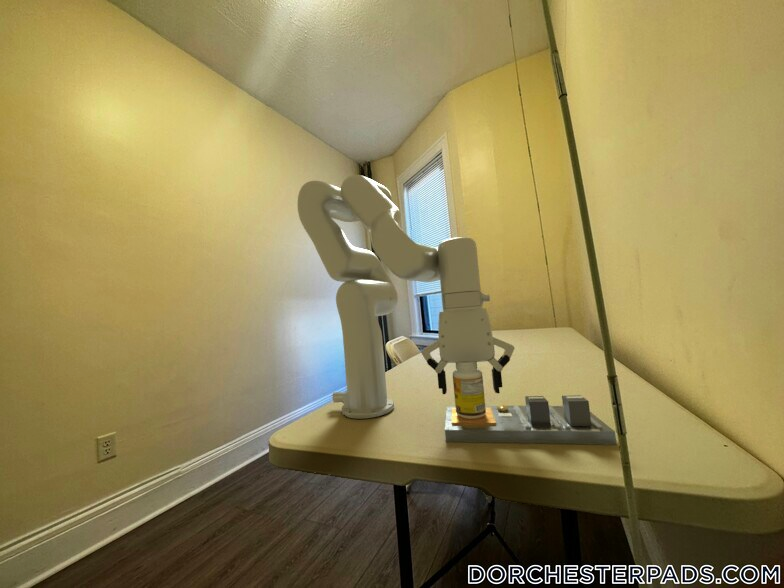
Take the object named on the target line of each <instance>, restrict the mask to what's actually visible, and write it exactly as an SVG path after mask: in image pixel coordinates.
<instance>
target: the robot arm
mask: <svg viewBox="0 0 784 588" xmlns="http://www.w3.org/2000/svg"><path fill="white" fill-rule="evenodd" d="M297 212H298V218H299V220H300V223H301V225H302V226H303V229H304V230H305V231H306V234H307V235H308V237H309V238H310V240H311V241H312V243H313V245H314V247H315V250H316V251H317V255H318V256H319V258H320V260H321V262H322V264H323V266H324V268H325V270H326V272H327V274H328V275H329V277H330V278H331V279H332V280H334V281H336V282H341V283H342V284H341V285H340V286H339V287H338V289H337V292H336V293H335V294H336V295H335V302H336V308H337V312H338V315H339V320H340V325H341V333H342V343H343V344H342V345H343V354H344V355H343V356H344V368H345V371H344V372H345V381H346V382H345V383H346V390H345V391H344V392H341V391H339V392H338V391H337V392H333V393H332V395H331V398H332V401H333V403H342V404H343V405H342V406H341V414H342V415H343V416H344V415H345V416H344V417H346V416H347V418H350V419H360V420H361V419H372V418H376V417H377V418H378V417H380V416H384V415H386V414H388V413H390V412H391V411H393V410H394V408H395V403H394V400H393V399H391V398H389V397H388V391H387V381H386V380H387V379H386V367H385V355H384V354H385V353H384V344H383V342H384V341H383V334H382V329H381V327H380V324H379V322H378V320H377V317H381V316H387V315H389V314H391V313H392V312H394V310H395V309H396V308H397V305H398V302H399V301H398V300H399V299H398V298H399V297H398V292H397V289H396V286H395V285H394V283H393V281H392V280H391V278H390V276H389V274H388V273H387V270H386V269H385V267H386V268H387V269H388V270H389V271H390V272H391V273H392V274H393V275H395V276H396V277H397V278H399V279H401V280H404V281H410V282H421V283H423V282H424V283H432V282H437V281H439V282H440V293H441V295H440V296H441V305H442V310H440V311H439V313H438V339H437V340H435V341H434V342H433V343H431V344H429V345H427V346H426V347H424V348H423V349H422V350H421V351H420V353H421V355H422V357H423V358H424V360H425V361H426V363H427V365H428V366H429V367H430V368H432V369H433V370H434V371H435V373H436V374H437V383H438V384H437V385H438V386H437V387H438V389H439V390H441V392H442V395H446V394H447V391H448V389H447V378H446V371H445V369H444V368H445V367H447V364H456V363H460V362H477V363H481V362H483V363H484V362H487V363H489V364H490V365H491V367H492V368H491V377H492V378H491V379H492V386H493V391H494V392H495V393H496V394H500V388H503V379H502V371H503V370H504V368H505V366H507V364H509V362H510V360H511V357H512V356H513V353H514V350H515V346H514V345H513V344H511V343H509V342H506V341H503V340H502V339H499V338H497V337H494V335H493V331H492V330H493V329H492V325H491V321H490V317H489V312H488V309H487V308H486V307H483V304H484V303H486V302H490V300H491V299H490V298H491V297H490V294H487V293H486V294H485V293H483V292H482V291H481V280H480V267H479V256H478V250H477V243H476V241H475V240H474V239H473V238H471V237H465V236H463V237H452V238H448V239H444V240H442V241H441V242H440V243H439V244H438V246H437V247H436V246H429V245H425V244H421V243H419V242H418V243H417V242H415V241H414V240H413V239H412V238H410V236H409V235H408V234H407V233H406V232H405V231H404V230H403V229H402V228H401V227H400V225H399V223H400V220H401V212H400V209H399V208H398V207H397V206H396V205H395V204H394V203H393V197H392V194H391V192H390V190H389V189H388V188H387V187H385V186H384V185H382V184H380V183H378V182H377V181H375V180H373V179H371V178H369V177H367V176H364V175H360V174H352V175H350V176H348V177H346V178H344V180H343V181H342V183H341V185H340V187H338V186H336V185H333V184H332V183H330V182H326V181H323V180H309V181H307V182H305V183H304V184H303V185H302V186H301V187H300V190H299V191H298V195H297ZM333 219H334V220H333ZM335 220H337V221H341V222H345V223H354V222H360V223H361V224H362V226H364V227H365V229H366V231H368V233H369V236H370V237H369V238H370V242H371V243H370V244H371V247H372V249H373V251H374V252H372V250H368V249H364V248H361V247H356V246H354V245H352V244H351V243H350V241H349V239H348V238H347V237H346V234H345V233H344V230H343V229H342V228H341V226H339V224H338V223H337V222H336V221H335ZM382 263H383V264H384V265H385V267H384V265H383V264H382ZM495 346H496V347H498V348H500V349H503V350H504V351H503V354H502V355H501V356H500V358H499V359H498V360H497V359H496V358H495V354H496V353H495V352H496V351H495ZM437 349H438V351H439V358H440V360H439V361H437V360H435V359H434V358H433V357H432V354H431V353H432V352H434V351H436V350H437Z"/></svg>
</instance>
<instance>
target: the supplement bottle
mask: <svg viewBox="0 0 784 588" xmlns="http://www.w3.org/2000/svg"><path fill="white" fill-rule="evenodd" d="M483 378H484V377H483V371H481V370H480V369H478V362H460V363H455V370H453V371H452V383H453V384H452V385H453V392H454V393H453V394H454V403H455V405H454V406H456V413H457V414H458V415H459V416H460V417H462V418H466V419H477V418H481V417H483V416H484V415H485V413H486V408H485V406H486V398H485V389H484V379H483Z"/></svg>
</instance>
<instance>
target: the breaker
mask: <svg viewBox="0 0 784 588" xmlns="http://www.w3.org/2000/svg"><path fill="white" fill-rule="evenodd" d="M561 400H562V405H563V411H564V419H565V420H566V421H567V422H568V423H569V424H570V425H571V426H591V417H590V412H591V411H590V402H589V400H588V399H586V397H584V396H583V395H581V394H578V395H574V394H573V395H561Z"/></svg>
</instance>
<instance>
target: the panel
mask: <svg viewBox="0 0 784 588" xmlns="http://www.w3.org/2000/svg"><path fill="white" fill-rule="evenodd" d="M524 398H525V399H524V400H525V401H524V402H525V405H503V404H502V405H500V404H499V405H485V408H486V413H485V415H484V416H483V417H481V418H477V419H466V418H462V417H460V416H459V415H458V414H457V413H456V406H455V405H451V406H450V405H447V406H446V411H445V421H444V423H445V425H444V435H445V443H487V444H488V443H495V444H501V443H502V444H549V445H550V444H556V445H559V444H561V445H611V446H612V445H614V446H615V445H617V438H616V431H615V430H614V429H612V428H611V427H610V426H609V425H607V424H606V423H605V422H604V421H602V420H601V419H600V418H599V417H597V416H596V415H595V414H593V413H592V412H591V411H590V417H591V426H571V425H570V424H569V423H568V422H567V421H566V420H565V419H564V411H563V404H557V405H556V404H553V405H549V401H548V400H547V399H546V397H545V396H543V395H540V396H539V395H533V396H532V395H529V396H528V395H527V396H526V395H525V396H524Z"/></svg>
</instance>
